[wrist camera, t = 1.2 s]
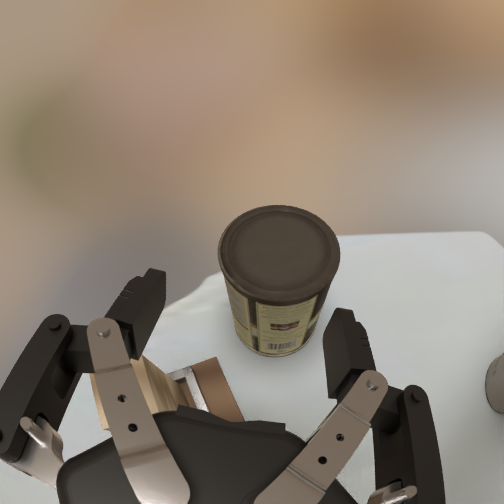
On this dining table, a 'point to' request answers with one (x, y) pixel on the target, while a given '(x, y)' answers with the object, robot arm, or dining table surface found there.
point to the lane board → (208, 389)
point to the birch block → (149, 389)
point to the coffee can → (277, 275)
